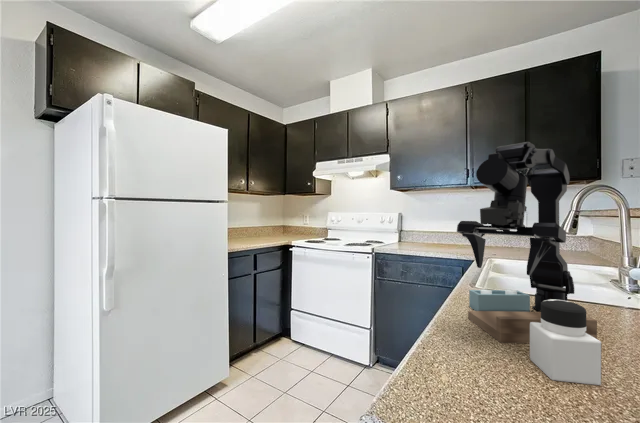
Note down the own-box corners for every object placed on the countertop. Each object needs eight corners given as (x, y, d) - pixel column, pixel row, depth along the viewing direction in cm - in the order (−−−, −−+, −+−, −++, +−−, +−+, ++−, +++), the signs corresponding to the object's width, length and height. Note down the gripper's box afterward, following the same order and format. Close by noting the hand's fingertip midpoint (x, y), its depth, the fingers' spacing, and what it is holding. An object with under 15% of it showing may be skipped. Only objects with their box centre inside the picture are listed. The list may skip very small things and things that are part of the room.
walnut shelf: (546, 319, 74) (546, 300, 74) (597, 344, 60) (597, 320, 60) (468, 318, 75) (468, 299, 75) (500, 342, 61) (500, 319, 61)
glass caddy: (517, 307, 84) (517, 288, 84) (529, 313, 79) (529, 293, 79) (469, 306, 84) (469, 288, 84) (478, 312, 79) (478, 292, 79)
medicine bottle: (602, 386, 45) (602, 310, 46) (551, 380, 47) (551, 307, 47) (572, 363, 52) (572, 297, 53) (528, 359, 54) (529, 295, 54)
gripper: (449, 191, 65) (440, 259, 62) (552, 184, 50) (546, 274, 48) (471, 203, 71) (464, 266, 69) (569, 201, 56) (563, 281, 54)
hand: (502, 271), depth 60 cm, fingers open, 9 cm apart
